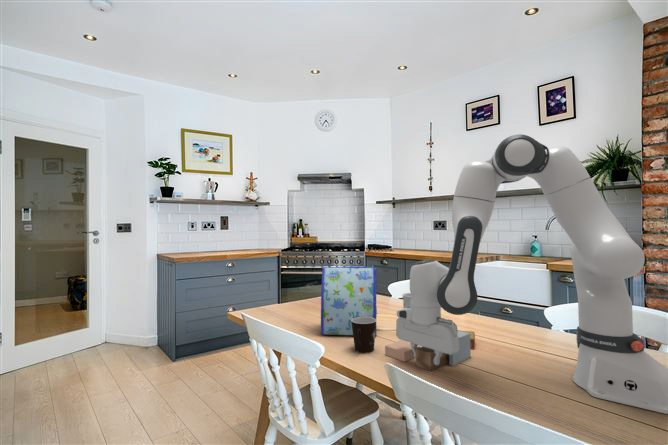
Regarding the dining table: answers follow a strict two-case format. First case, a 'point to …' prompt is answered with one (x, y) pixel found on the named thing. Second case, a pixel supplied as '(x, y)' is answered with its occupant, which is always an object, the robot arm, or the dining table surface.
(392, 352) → the stand
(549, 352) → the dining table surface
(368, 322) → the coffee mug
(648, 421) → the dining table surface
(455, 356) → the grey tunnel block
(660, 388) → the robot arm
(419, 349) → the block
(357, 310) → the lunch bag
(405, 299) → the mug
